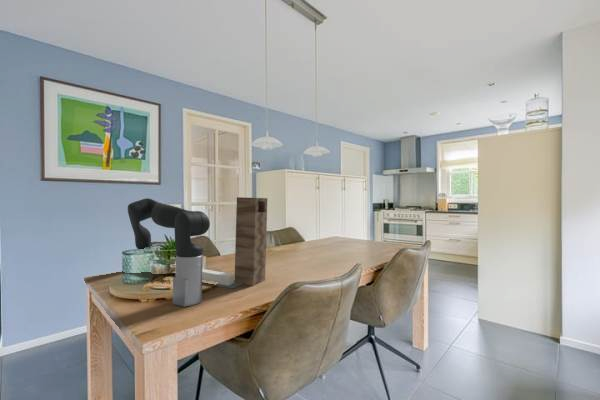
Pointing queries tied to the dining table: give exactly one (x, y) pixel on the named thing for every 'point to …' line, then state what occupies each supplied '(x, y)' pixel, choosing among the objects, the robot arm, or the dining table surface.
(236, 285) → the mat
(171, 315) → the dining table surface
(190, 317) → the dining table surface
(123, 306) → the dining table surface
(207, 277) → the plug bar
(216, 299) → the dining table surface
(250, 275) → the socket tower
